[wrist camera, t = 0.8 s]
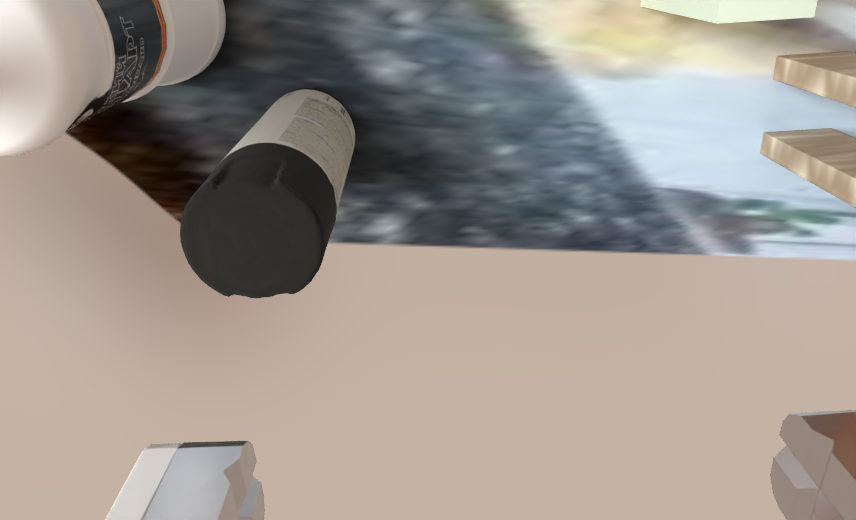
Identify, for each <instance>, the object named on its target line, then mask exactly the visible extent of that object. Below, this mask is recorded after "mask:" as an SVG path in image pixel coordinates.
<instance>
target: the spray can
mask: <svg viewBox="0 0 856 520" xmlns="http://www.w3.org/2000/svg"><path fill="white" fill-rule="evenodd" d="M354 146H355V130H354V126H353V123H352V120H351V118H350V116H349V114H348V112H347V111H346V109H345V108H344V107H343V106H342V105H341V103H340V102H338V101H337V100H335V99H334V98H333V97H331V96H329V95H328V94H325V93H323V92H319V91H316V90H309V89H302V90H297V91H293V92H290V93H288V94H286V95H284V96H282V97H281V98H279V99H278V100H277V101H276V102H275V103H274V104H273V105H272V106H271V107H270V108H269V109H268V110H267V111H266V113H265V114H264V115H263V116H262V117H261V118H260V119H259V120H258V122H257V123H256V124H255V125H254V126H253V127H252V128H251V129H250V130H249V132H248V133H247V134H246V135H245V136H244V137H243V138H242V139H241V140H240V141H239V142H238V144H237V145H236V146H235V147H234V148H233V149H232V150H231V151H230V152H229V153H228V154H227V156H226V157H225V158H224V159H223V160H222V161H221V162H220V163H219V165H218V166H217V167H216V168H215V170H214V171H213V172H212V173H211V174H210V176H209V177H208V178H207V179H206V181H205V182H204V183H203V184H202V186H201V187H200V188H199V189H198V190H197V191H196V192H195V194H194V195H193V196H192V197H191V199H190V200H189V202H188V204H187V205H186V207H185V209H184V212H183V215H182V218H181V227H180V237H181V244H182V248H183V251H184V253H185V256H186V258H187V260H188V263H189V264H190V266H191V268H192V269H193V270H194V272H195V273H196V274H197V275H198V277H199V278H200V279H201V280H202V281H203V282H205V283H206V284H207V285H208V286H209V287H211V288H212V289H214V290H216V291H218V292H219V293H221V294H223V295H225V296H228V297H229V296H231V295H234V294H235V295H241V296H247V297H250V298H261V297H270V296H274V295H277V294H283V293H289V294H294V293H297V292H299V291H300V290H302V289H303V288H304V287H305V286H306V285H307V284H309V283H310V282H311V281H312V279H313V277H314V276H315V274H316V273H317V272H318V270H319V268H320V266H321V263H322V260H323V256H324V253H325V250H326V247H327V244H328V240H329V237H330V234H331V232H332V229H333V226H334V223H335V220H336V214H337V209H338V206H339V203H340V198H341V195H342V191H343V188H344V184H345V180H346V177H347V173H348V169H349V165H350V162H351V158H352V154H353V150H354Z"/></svg>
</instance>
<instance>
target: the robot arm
mask: <svg viewBox="0 0 856 520" xmlns="http://www.w3.org/2000/svg"><path fill="white" fill-rule="evenodd" d="M780 436H781V438H782V439H783V441H784V442H785V443H786V446H785V447H784V448H783V449H782V450H781V451H780V452H779V453H778V454H777V455H776V456H775V457H774V458H773V464H772V469H771V474H770V476H771V483H772V490H773V494H774V497H775V499H776V502H777V504H778V507H779V508H780V510H781V511H782V513H783V514H784V516H785V518H786V519H787V520H856V410H846V411H830V412H813V413H796V414H795V413H794V414H789V415H788V416H787V417H786V419H785V420H784V421H783V423H782V427H781V431H780ZM255 464H256V457H255V453H254V449H253V445H252V444H251V443H250V442H248V441H233V442H232V441H229V442H192V443H183V444H179V443H178V444H151V445H150V446H148V447H147V448H145V449H144V450H143V451H142V453H141V454H140V456H139V458H138V460H137V462H136V464H135V465H134V467H133V469H132V471H131V473H130V475H129V477H128V478H127V480H126V482H125V484H124V486H123V487H122V489H121V491H120V493H119V495H118V497H117V498H116V500H115V502H114V504H113V506H112V508H111V509H110V511H109V513H108V515H107V517H106V519H105V520H264V511H265V509H264V495H263V490H262V485H261V483H260V482H259V481H258V480H257V479H256V478H254V477H253V476H252V475H253V471H254V468H255Z"/></svg>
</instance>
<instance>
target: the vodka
mask: <svg viewBox="0 0 856 520" xmlns="http://www.w3.org/2000/svg"><path fill="white" fill-rule="evenodd" d="M225 27H226V14H225V7H224V2H223V0H0V156H12V155H23V154H26V153H29V152H33V151H36V150H39V149H42V148H44V147H46V146H47V145H49V144H50V143H52V142H53V141H55V140H56V139H58V138H59V137H61V135H62V134H63V133H64V132H65V131H66V130H68V129H70V128H72V127H74V126H76V125H78V124H80V123H82V122H84V121H86V120H88V119H90V118H92V117H94V116H96V115H97V114H99V113H101V112H103V111H105V110H107V109H109V108H111V107H113V106H115V105H117V104H119V103H121V102H127V101H131V100H134V99H137V98H139V97H141V96H143V95H145V94H147V93H148V92H150V91H151V90H152V89H154V88H155V87H156V86H164V85H171V84H176V83H179V82H182V81H185V80H188V79H190V78H192V77H194V76H195V75H197V74H199V73H200V72H202V71H203V70H204V69H205V68H207V67H208V66H209V65H210V63H211V62H212V61H213V60H214V58H215V57H216V55H217V54H218V52H219V50H220V47H221V45H222V42H223V39H224V34H225Z"/></svg>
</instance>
